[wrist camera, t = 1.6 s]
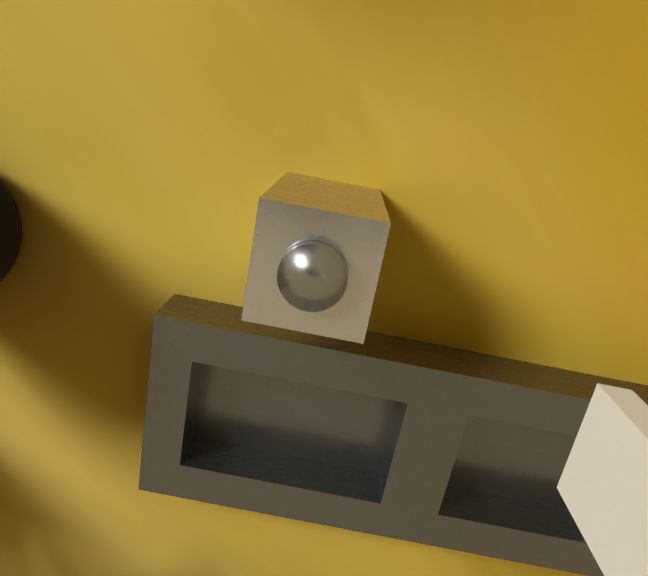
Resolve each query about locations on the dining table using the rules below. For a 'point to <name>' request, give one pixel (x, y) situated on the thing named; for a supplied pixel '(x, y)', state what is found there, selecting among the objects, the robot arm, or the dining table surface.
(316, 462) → the divided tray
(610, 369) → the dining table surface
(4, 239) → the mug
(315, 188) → the grey knobbed block
